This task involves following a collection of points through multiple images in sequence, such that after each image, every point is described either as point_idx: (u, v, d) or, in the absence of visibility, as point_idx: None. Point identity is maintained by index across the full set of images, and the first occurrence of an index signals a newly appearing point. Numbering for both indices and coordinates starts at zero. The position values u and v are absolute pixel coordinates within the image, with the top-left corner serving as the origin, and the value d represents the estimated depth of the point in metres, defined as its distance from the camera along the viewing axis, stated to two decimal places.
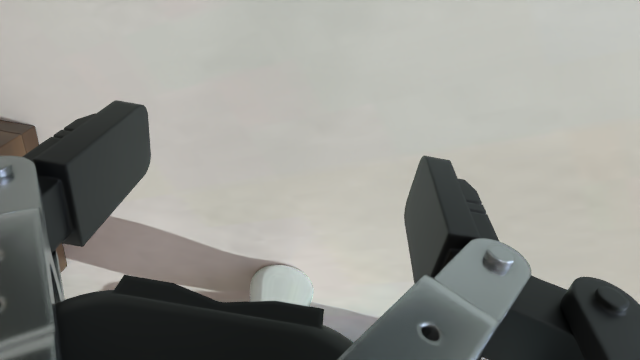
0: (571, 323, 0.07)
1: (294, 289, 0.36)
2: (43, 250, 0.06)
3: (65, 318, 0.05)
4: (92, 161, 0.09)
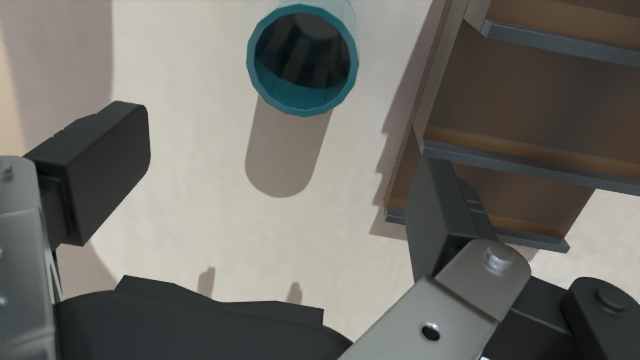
0: (571, 323, 0.07)
1: None
2: (43, 250, 0.06)
3: (65, 318, 0.05)
4: (92, 161, 0.09)
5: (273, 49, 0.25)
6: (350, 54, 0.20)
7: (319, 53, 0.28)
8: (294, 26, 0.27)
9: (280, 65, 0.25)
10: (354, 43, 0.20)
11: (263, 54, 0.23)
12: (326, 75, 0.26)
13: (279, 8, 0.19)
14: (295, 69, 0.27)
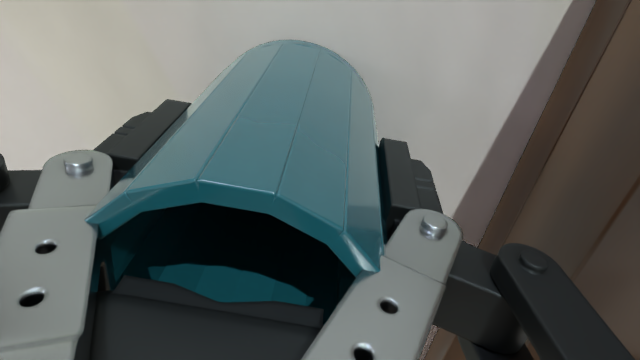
0: (496, 283, 0.08)
1: None
2: (94, 248, 0.06)
3: (102, 319, 0.05)
4: None
5: None
6: None
7: None
8: None
9: (215, 219, 0.12)
10: None
11: (154, 234, 0.09)
12: None
13: (136, 190, 0.06)
14: None
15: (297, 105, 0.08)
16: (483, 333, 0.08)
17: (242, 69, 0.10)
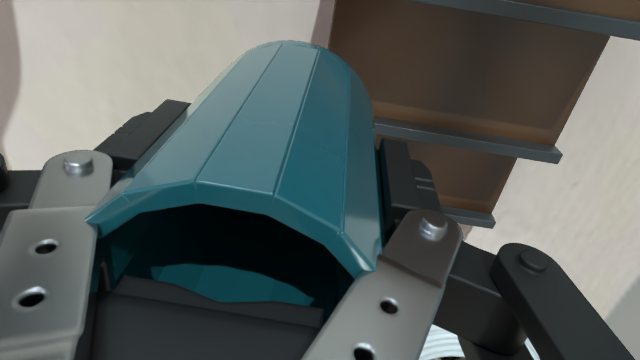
0: (496, 283, 0.08)
1: None
2: (94, 248, 0.06)
3: (102, 319, 0.05)
4: None
5: None
6: None
7: None
8: None
9: (214, 219, 0.12)
10: None
11: (153, 234, 0.09)
12: None
13: (134, 191, 0.06)
14: None
15: (295, 106, 0.08)
16: (483, 333, 0.08)
17: (241, 70, 0.11)
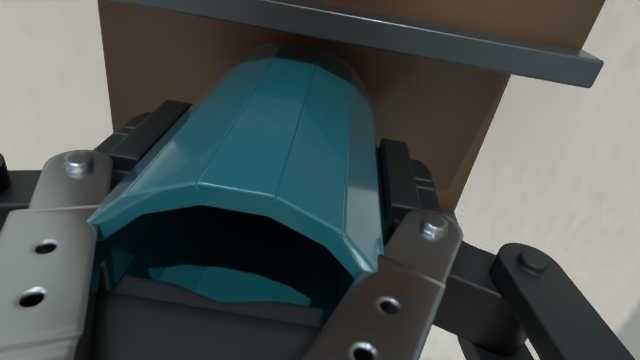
0: (496, 283, 0.08)
1: None
2: (94, 248, 0.06)
3: (102, 319, 0.05)
4: None
5: None
6: None
7: None
8: None
9: (215, 220, 0.12)
10: None
11: (154, 236, 0.09)
12: None
13: (136, 193, 0.06)
14: None
15: (296, 107, 0.08)
16: (483, 333, 0.08)
17: (242, 71, 0.11)
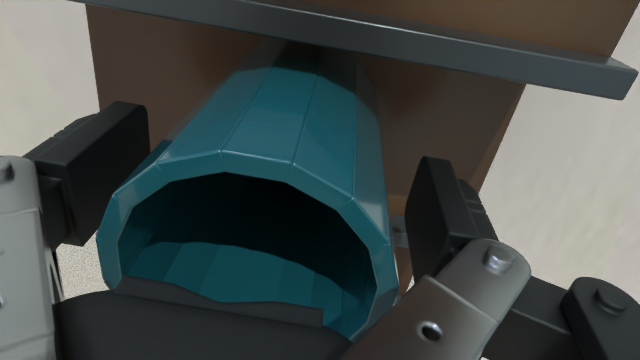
0: (571, 323, 0.07)
1: None
2: (43, 250, 0.06)
3: (65, 318, 0.05)
4: (92, 161, 0.09)
5: None
6: (376, 270, 0.07)
7: None
8: None
9: (227, 203, 0.13)
10: (388, 246, 0.07)
11: (173, 213, 0.10)
12: (320, 216, 0.13)
13: (166, 161, 0.06)
14: (262, 196, 0.14)
15: (307, 91, 0.09)
16: None
17: (254, 60, 0.11)
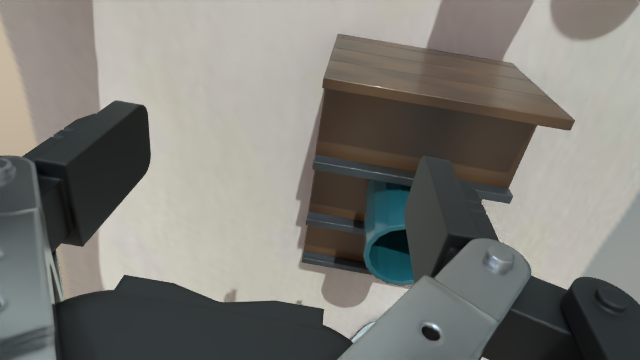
0: (571, 323, 0.07)
1: None
2: (43, 250, 0.06)
3: (65, 318, 0.05)
4: (92, 161, 0.09)
5: None
6: None
7: None
8: None
9: None
10: None
11: None
12: None
13: (391, 226, 0.28)
14: None
15: None
16: None
17: (390, 183, 0.33)
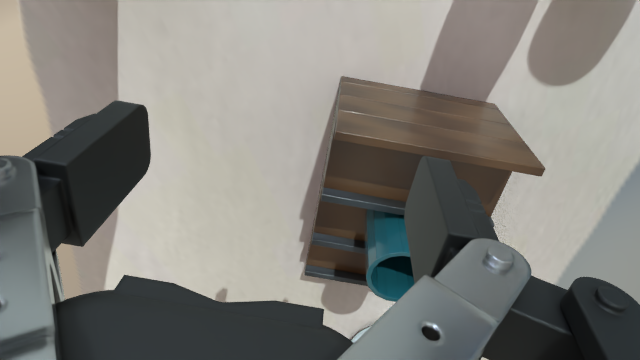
0: (571, 323, 0.07)
1: None
2: (43, 250, 0.06)
3: (65, 318, 0.05)
4: (92, 161, 0.09)
5: None
6: None
7: None
8: None
9: None
10: None
11: None
12: (403, 256, 0.39)
13: (390, 253, 0.33)
14: None
15: None
16: None
17: None
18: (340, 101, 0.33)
